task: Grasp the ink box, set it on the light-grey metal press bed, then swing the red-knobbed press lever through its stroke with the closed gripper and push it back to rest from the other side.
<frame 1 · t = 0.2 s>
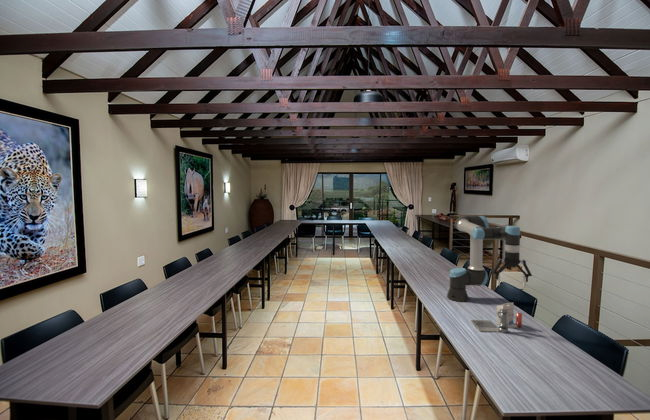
hand: (511, 286, 180), 26 cm above the table, fingers open, 13 cm apart
ink box: (504, 324, 186), on the table
lever: (514, 320, 176), point 7 cm above the table, hinge at 0.0°
press: (485, 326, 183), on the table
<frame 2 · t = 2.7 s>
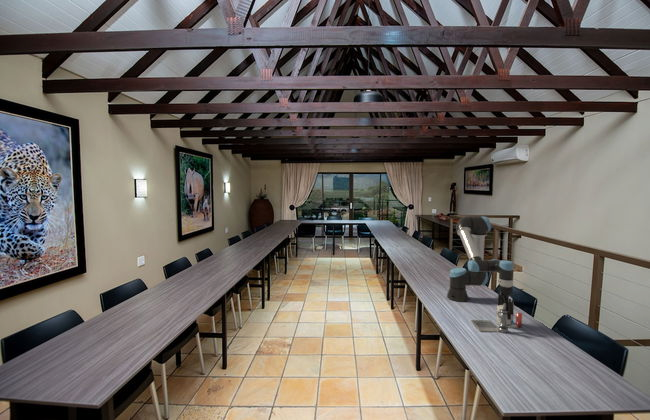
hand: (504, 321, 186), 2 cm above the table, fingers closed on ink box, 6 cm apart
ink box: (504, 324, 186), on the table, touching gripper
everything else where it was.
when the fingers open (4 cm above the table, at t = 7.3 s): ink box stays where it is, resting on press.
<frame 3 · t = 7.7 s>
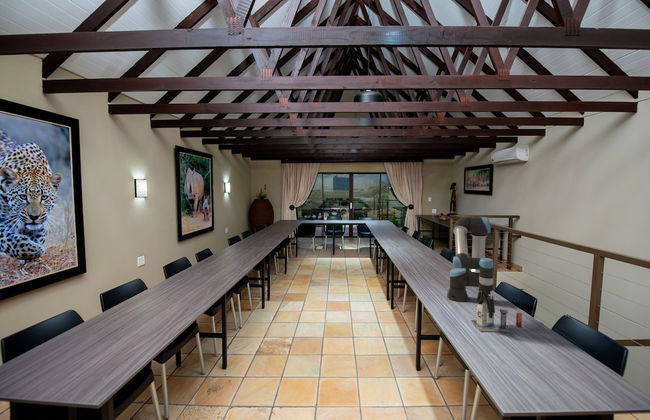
hand: (485, 318, 183), 5 cm above the table, fingers open, 11 cm apart
ink box: (485, 324, 183), point 1 cm above the table, touching press
everything else where it was.
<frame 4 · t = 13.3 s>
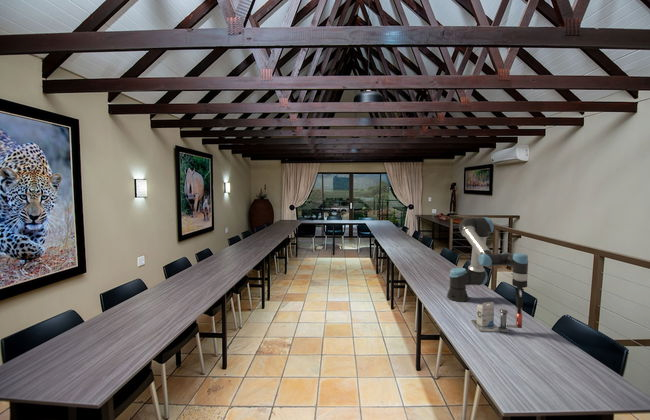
hand: (518, 317, 178), 8 cm above the table, fingers closed
lever: (514, 320, 176), point 7 cm above the table, hinge at 1.9°, touching gripper
everything else where it was.
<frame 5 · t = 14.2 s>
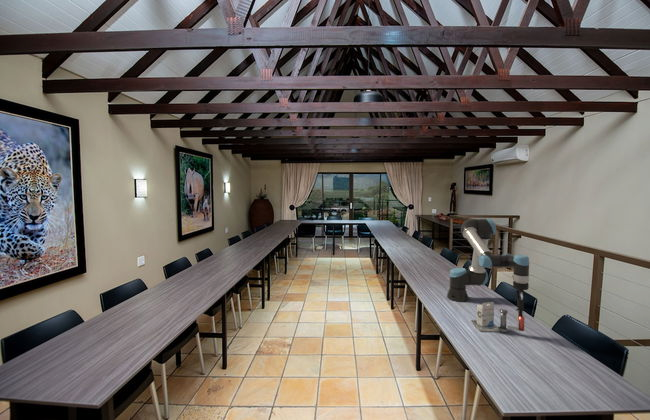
hand: (520, 320, 174), 8 cm above the table, fingers closed
lever: (516, 322, 173), point 7 cm above the table, hinge at 28.7°, touching gripper
everything else where it was.
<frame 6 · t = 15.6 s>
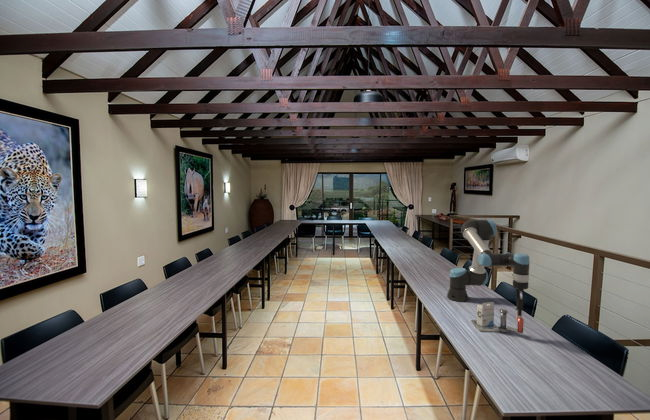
hand: (519, 320, 171), 9 cm above the table, fingers closed
lever: (515, 324, 171), point 7 cm above the table, hinge at 48.9°
everything else where it was.
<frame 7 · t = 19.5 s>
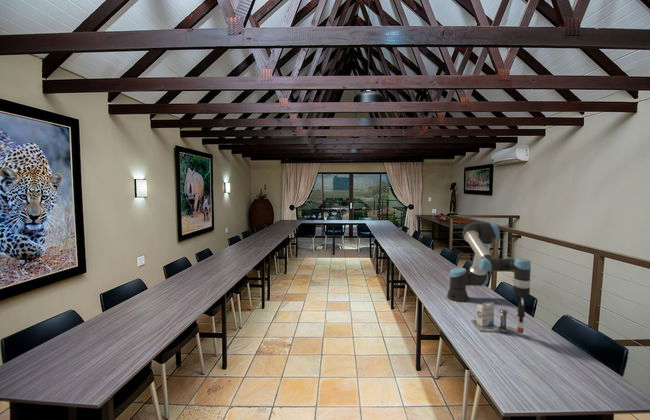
hand: (520, 327, 167), 7 cm above the table, fingers closed
lever: (515, 324, 172), point 7 cm above the table, hinge at 48.2°, touching gripper
everything else where it was.
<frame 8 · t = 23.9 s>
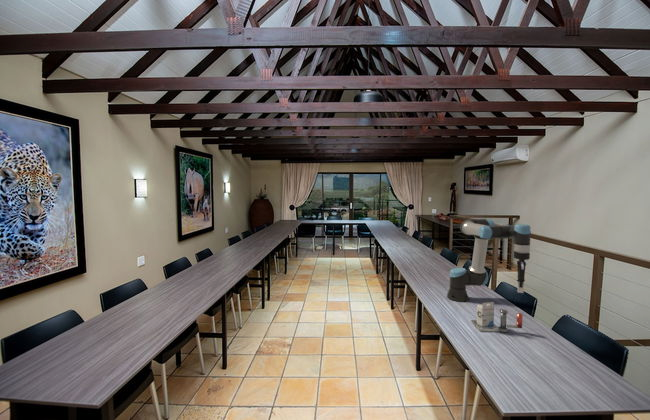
hand: (520, 292, 168), 26 cm above the table, fingers closed
lever: (514, 320, 176), point 7 cm above the table, hinge at 3.8°
everything else where it was.
at the end: ink box inside the target area on the press (0.1 cm from its centre), point 1.5 cm above the press's base; ink box tilted 0°; lever at +4° (first picture: +0°) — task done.
